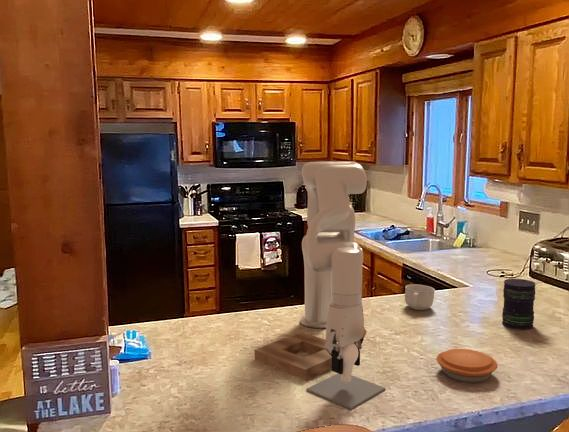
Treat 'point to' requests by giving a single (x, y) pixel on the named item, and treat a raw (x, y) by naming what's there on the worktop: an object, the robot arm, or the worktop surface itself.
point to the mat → (346, 390)
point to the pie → (466, 365)
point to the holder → (287, 360)
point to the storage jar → (518, 304)
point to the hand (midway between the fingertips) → (345, 367)
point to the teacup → (419, 296)
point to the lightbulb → (348, 361)
